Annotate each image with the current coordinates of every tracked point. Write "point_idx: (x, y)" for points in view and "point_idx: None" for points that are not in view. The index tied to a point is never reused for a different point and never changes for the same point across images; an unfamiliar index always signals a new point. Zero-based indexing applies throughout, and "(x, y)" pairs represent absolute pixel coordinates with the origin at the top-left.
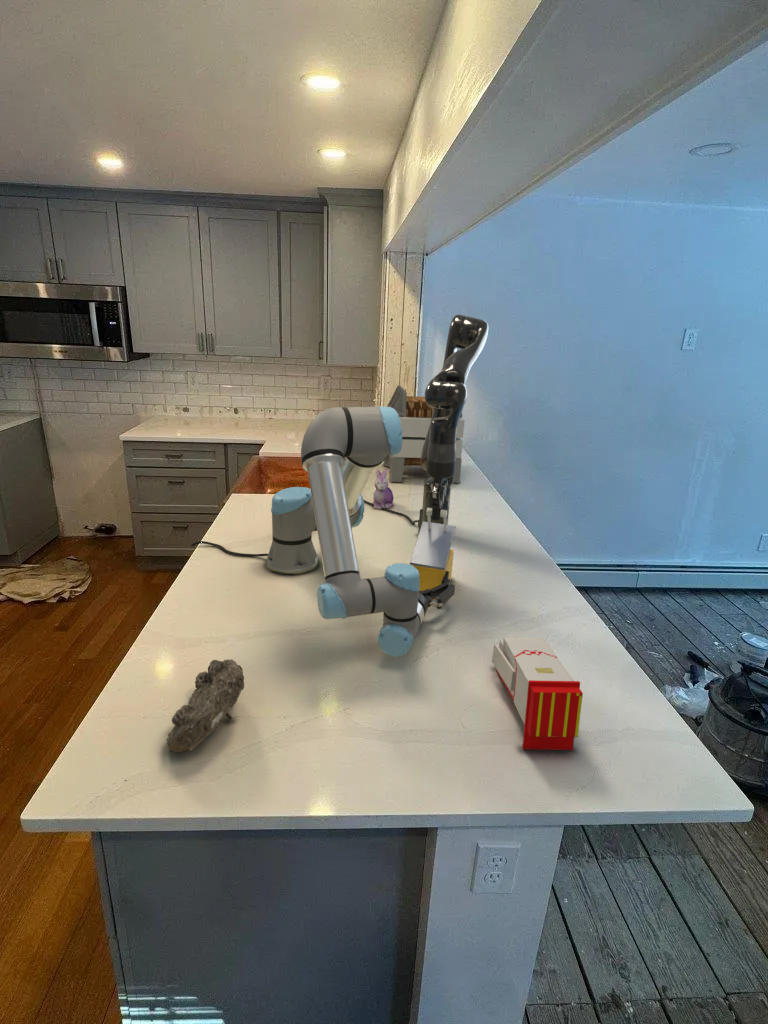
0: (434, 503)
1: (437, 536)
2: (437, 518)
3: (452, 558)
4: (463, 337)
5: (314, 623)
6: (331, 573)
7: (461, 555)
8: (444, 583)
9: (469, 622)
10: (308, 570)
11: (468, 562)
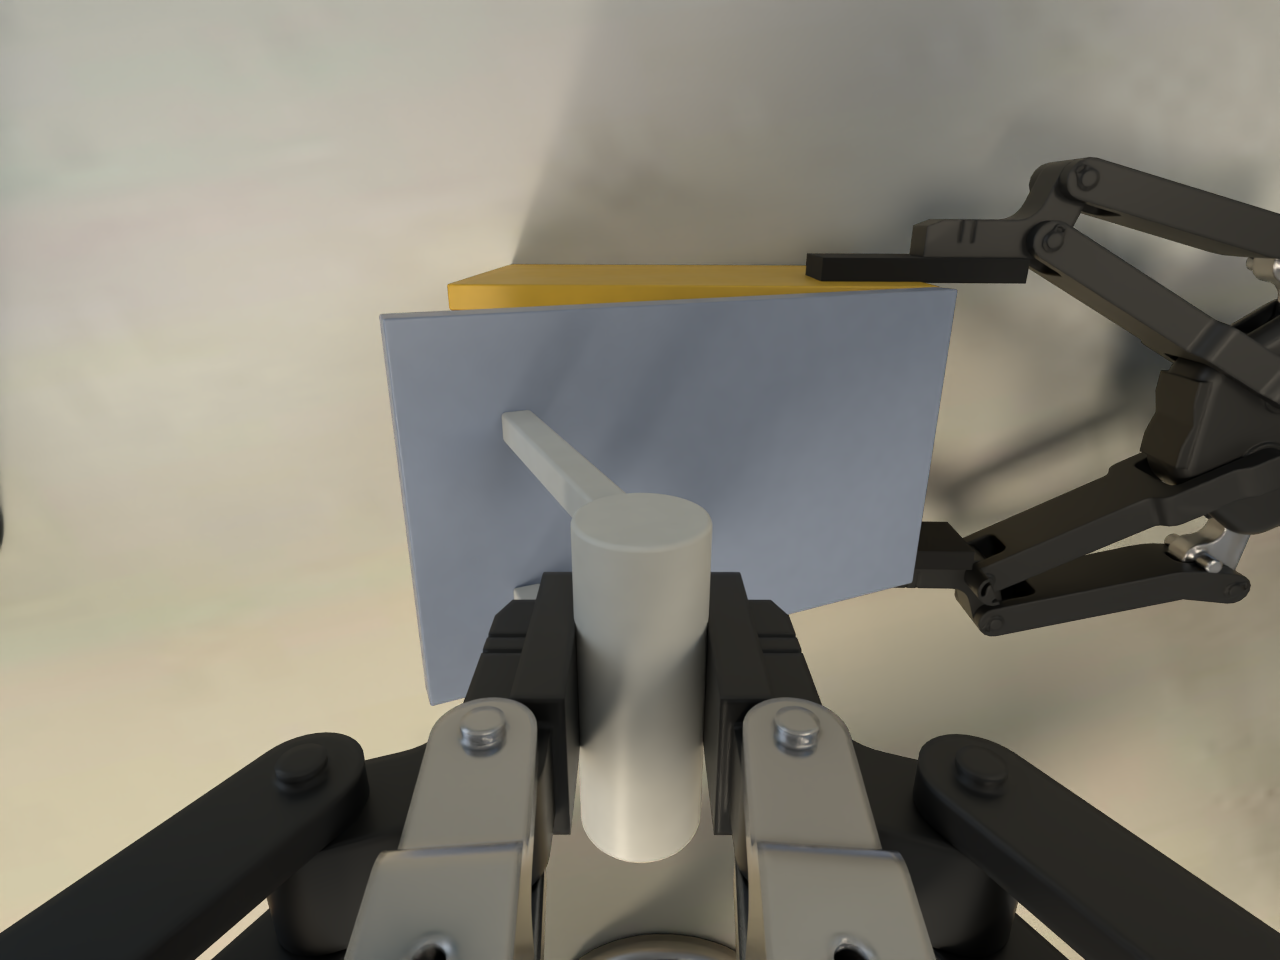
0: (997, 927)
1: (614, 478)
2: (781, 614)
3: (506, 278)
4: None
5: (1199, 793)
6: None
7: (93, 256)
8: (1054, 254)
9: (1092, 29)
10: (723, 950)
11: (180, 184)
